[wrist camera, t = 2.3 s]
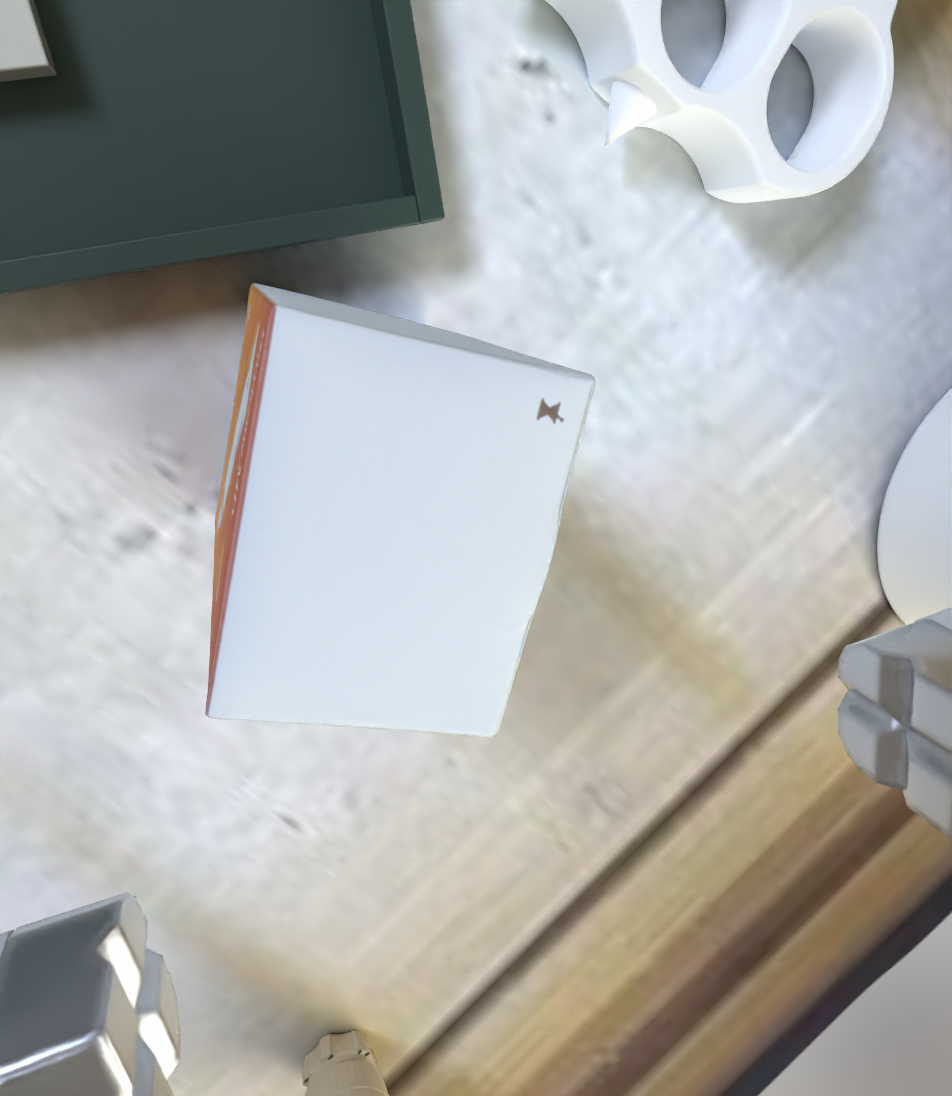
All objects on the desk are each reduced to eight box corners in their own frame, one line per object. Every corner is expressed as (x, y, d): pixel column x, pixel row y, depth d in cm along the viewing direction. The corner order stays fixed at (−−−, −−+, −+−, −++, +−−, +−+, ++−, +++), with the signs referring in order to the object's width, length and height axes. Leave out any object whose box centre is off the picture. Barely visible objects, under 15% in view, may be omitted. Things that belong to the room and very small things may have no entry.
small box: (247, 279, 24) (270, 290, 13) (439, 326, 27) (610, 374, 15) (209, 524, 27) (200, 727, 15) (390, 549, 29) (506, 743, 17)
